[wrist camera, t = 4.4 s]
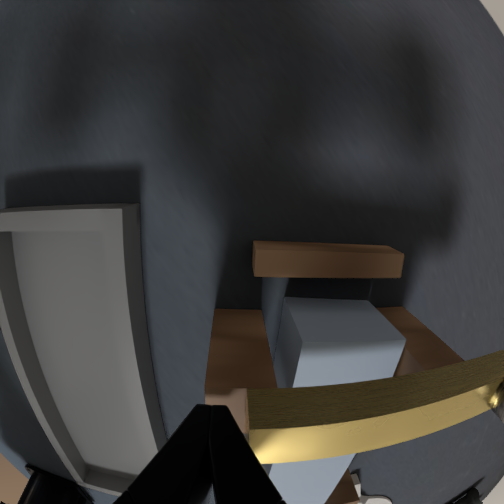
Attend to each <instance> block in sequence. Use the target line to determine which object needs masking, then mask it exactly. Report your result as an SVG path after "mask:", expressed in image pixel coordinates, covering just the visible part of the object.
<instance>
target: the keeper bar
mask: <svg viewBox="0 0 504 504" xmlns="http://www.w3.org/2000/svg"><path fill="white" fill-rule="evenodd" d="M489 409H491V410H492V411H493V412H494V413H495V414H496V415H497V416H498V417H499V418H500V419H501V421H502V422H503V423H504V350H501V351H498V352H494V353H491V354H488V355H485V356H482V357H478V358H475V359H471V360H468V361H464V362H460V363H456V364H452V365H448V366H444V367H440V368H436V369H431V370H426V371H422V372H417V373H412V374H406V375H401V376H395V377H389V378H383V379H376V380H369V381H362V382H354V383H345V384H335V385H324V386H311V387H294V388H264V389H247V392H246V413H245V435H246V440H247V442H248V443H249V445H250V447H251V448H252V450H253V452H254V453H255V455H256V457H257V458H258V460H259V462H260V463H261V464H271V463H287V462H298V461H308V460H316V459H324V458H331V457H337V456H343V455H349V454H354V453H359V452H364V451H369V450H373V449H378V448H382V447H386V446H390V445H394V444H397V443H401V442H404V441H408V440H411V439H415V438H418V437H421V436H424V435H427V434H430V433H433V432H436V431H439V430H441V429H444V428H447V427H449V426H452V425H455V424H457V423H460V422H462V421H464V420H467V419H469V418H471V417H474V416H476V415H478V414H480V413H483V412H485V411H487V410H489Z"/></svg>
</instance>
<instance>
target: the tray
mask: <svg viewBox="0 0 504 504" xmlns="http://www.w3.org/2000/svg"><path fill="white" fill-rule="evenodd" d="M0 326H1V330H2V333H3V336H4V339H5V343H6V346H7V348H8V351H9V354H10V357H11V360H12V362H13V365H14V368H15V370H16V373H17V375H18V378H19V380H20V383H21V385H22V387H23V390H24V392H25V394H26V396H27V398H28V401H29V403H30V405H31V407H32V409H33V411H34V413H35V415H36V417H37V419H38V421H39V423H40V424H41V426H42V428H43V430H44V432H45V434H46V435H47V437H48V439H49V441H50V442H51V444H52V446H53V447H54V449H55V451H56V452H57V454H58V455H59V457H60V459H61V460H62V462H63V463H64V465H65V466H66V468H67V469H68V471H69V472H70V474H71V475H72V476H73V478H74V479H75V481H76V482H77V483H78V485H81V486H84V487H87V488H90V489H93V490H97V491H100V492H104V493H108V494H112V495H116V496H120V495H121V494H122V493H123V492H124V491H125V490H127V487H128V486H129V485H130V484H131V483H132V482H133V481H134V479H135V478H136V477H137V476H138V475H139V474H140V473H141V471H142V470H143V469H144V468H145V467H146V465H147V464H148V463H149V462H150V461H151V460H152V458H153V457H154V456H155V455H156V454H157V452H158V451H159V450H160V449H161V448H162V446H163V445H164V444H165V443H166V442H167V439H166V434H165V430H164V425H163V421H162V416H161V411H160V406H159V401H158V396H157V390H156V385H155V379H154V373H153V367H152V360H151V353H150V346H149V338H148V330H147V322H146V312H145V302H144V290H143V277H142V261H141V239H140V203H114V204H76V205H52V206H33V207H17V208H5V209H1V210H0ZM127 491H128V490H127Z"/></svg>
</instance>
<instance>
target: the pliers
mask: <svg viewBox="0 0 504 504" xmlns="http://www.w3.org/2000/svg"><path fill="white" fill-rule="evenodd" d="M351 477H352V480H353V483H354V486H355V488H356V491H357V494H358V497H359V499H360V501H359V502H358V504H392V503H391V500H390V499H388V498H387V497H384V496H362V495H361V491H360V482H359V479H358V476H357V474H352V475H351Z"/></svg>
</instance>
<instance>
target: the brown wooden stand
mask: <svg viewBox="0 0 504 504" xmlns="http://www.w3.org/2000/svg"><path fill="white" fill-rule="evenodd" d="M404 255H405V254H403V253H401V252H399V251H397V250H395V249H393V248H391V247H389V246H383V245H361V244H337V243H311V242H284V241H254V240H253V254H252V267H253V272H254V277H295V278H401V273H402V267H403V261H404ZM376 309H377V310H378V311H379V312H380V313H381V314H382V315H383V316H384V317H385V318H386V319H387V320H388V321H389V322H390V323H391V324H392V325H393V326H394V327H395V328H396V329H397V330H398V331H399V332H400V333H401V334H402V335H403V336H404V337H405V338H406V342H405V345H404V348H403V351H402V354H401V356H400V359H399V362H398V364H397V367H396V369H395V372H394V374H393V377H395V376H401V375H406V374H412V373H417V372H422V371H426V370H431V369H436V368H440V367H444V366H448V365H452V364H456V363H460V362H464V360H463V359H462V358H461V357H460V356H459V355H457V354H456V353H455V352H454V351H453V350H452V349H451V348H450V347H449V346H447V345H446V344H445V343H444V342H443V341H442V340H441V339H440V338H439V337H437V336H436V335H435V334H434V333H433V332H432V331H431V330H429V329H428V328H427V327H426V326H425V325H424V324H422V323H421V322H420V321H419V320H418V319H417V318H416V317H414V316H413V315H412V314H411V313H410V312H408V311H407V310H406V309H405V308H404V307H403V306H401V307H383V308H376ZM264 388H278V387H277V382H276V377H275V373H274V368H273V363H272V358H271V353H270V348H269V343H268V339H267V334H266V329H265V324H264V319H263V314H262V310H247V309H215V310H214V317H213V324H212V332H211V340H210V347H209V355H208V363H207V371H206V380H205V402H206V404H209V405H226V406H228V408H229V409H230V411H231V413H232V415H233V417H234V419H235V420H236V422H237V424H238V426H239V428H240V429H241V431H242V433H245V413H246V392H247V389H264ZM359 501H360V499H359V497H358V494H357V491H356V488H355V486H354V483H353V480H352V477H351V475H350V472H349V469H348V468H347V469H346V471H345V473H344V474H343V476H342V478H341V479H340V481H339V482H338V484H337V485H336V487H335V489H334V490H333V492H332V493H331V495H330V496H329V498H328V499H327V500H326V502H325V503H324V504H358V502H359Z"/></svg>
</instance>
